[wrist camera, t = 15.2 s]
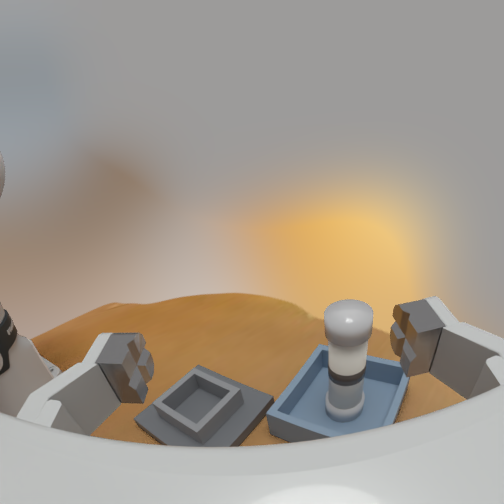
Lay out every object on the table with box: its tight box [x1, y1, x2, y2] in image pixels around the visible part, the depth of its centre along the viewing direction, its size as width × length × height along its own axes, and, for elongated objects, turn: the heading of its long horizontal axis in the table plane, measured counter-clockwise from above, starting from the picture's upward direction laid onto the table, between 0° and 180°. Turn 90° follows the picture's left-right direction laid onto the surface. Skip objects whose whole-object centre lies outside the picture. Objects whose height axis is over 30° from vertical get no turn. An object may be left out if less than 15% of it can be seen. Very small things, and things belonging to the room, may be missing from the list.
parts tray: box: [266, 344, 410, 443], centre depth 29 cm, size 12×12×4 cm
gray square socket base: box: [134, 365, 274, 447], centre depth 32 cm, size 12×12×4 cm
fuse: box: [324, 300, 373, 423], centre depth 27 cm, size 4×4×13 cm
